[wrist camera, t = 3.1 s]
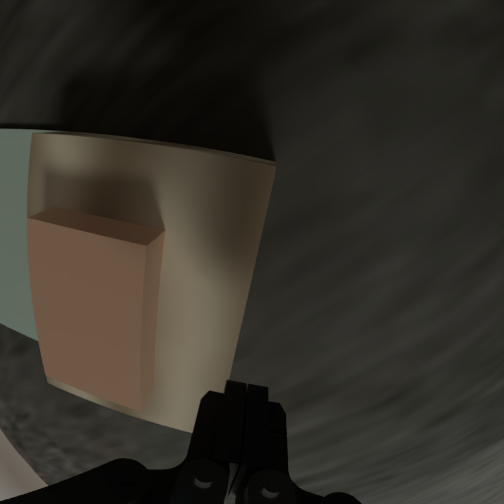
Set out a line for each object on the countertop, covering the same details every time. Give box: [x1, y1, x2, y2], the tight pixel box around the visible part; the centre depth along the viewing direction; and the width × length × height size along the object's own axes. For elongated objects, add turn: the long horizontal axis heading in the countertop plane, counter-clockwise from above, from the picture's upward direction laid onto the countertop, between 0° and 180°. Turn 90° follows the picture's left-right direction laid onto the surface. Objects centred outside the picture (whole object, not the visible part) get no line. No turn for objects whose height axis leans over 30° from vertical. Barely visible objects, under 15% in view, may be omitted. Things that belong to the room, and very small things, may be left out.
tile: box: [27, 207, 165, 412], centre depth 14 cm, size 6×9×2 cm, turn 168°
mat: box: [0, 129, 68, 341], centre depth 18 cm, size 11×16×1 cm
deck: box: [27, 132, 276, 433], centre depth 17 cm, size 12×16×4 cm
